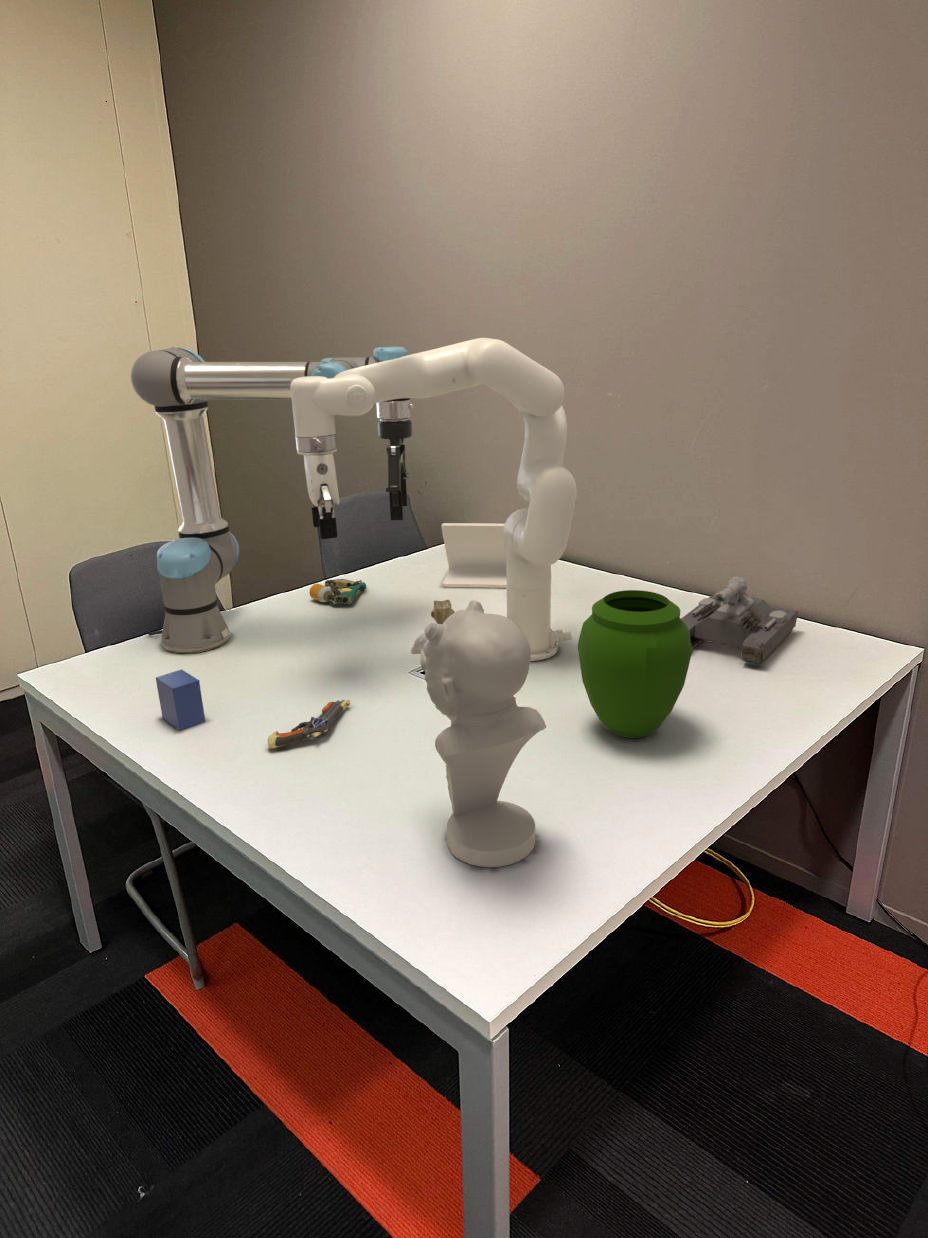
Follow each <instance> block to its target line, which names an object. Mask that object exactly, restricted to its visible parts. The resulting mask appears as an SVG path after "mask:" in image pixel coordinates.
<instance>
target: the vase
mask: <svg viewBox="0 0 928 1238" xmlns="http://www.w3.org/2000/svg"><path fill="white" fill-rule="evenodd" d="M681 618H682V617H681V609H680V607H679V606H678V605H677V604H676V603H674V602H673V601H672V600H670V599H669V598H667V596H664V595H663V594H660V593H657V592H653V591H648V590H642V589H641V590H638V589H628V590H619V591H613V592H611V593H609V594H606V595H605V596H603V597H602V598H600V599H599V600H597V601H595V602H594V603H593V604H592V607H591V614H590V615H589V616H588V617H587V619H586V620H584V621H583V623H582V626H581V628H580V632H579V637H578V640H577V645H576V646H577V653H578V660H579V668H580V675H581V680H582V684H583V686H584V689H585V692H586V696H587V697H588V700H589V704H590V706H591V707H592V710H593V711H594V712H595V714H596V716H597V718H598V719H599V721H600V722H601V723H602V725H603V726H604V727H605V728H606V729H607V730H608V731H609V732H610V733H612V734H614V735H616V736H618V737H619V736H620V737H623V738H628V739H636V738H637V739H638V738H643V737H648V736H649V735H651V734H653V733H654V732H655V731H657V729H659V728H660V727H661V726H662V725H663V723H664V722H665V721H666V719H668V717H669V716H670V714H671V713H672V711H673V709H674V708H675V705H676V703H677V701H678V699H679V697H680V695H681V693H682V691H683V688H684V686H685V684H686V679H687V676H688V670H689V666H690V663H691V659H692V655H693V648H692V647H691V640H690V634H689V629H688V627H687V626H686V624H685V623H684V622H683V621H682V620H681Z"/></svg>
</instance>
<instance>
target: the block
mask: <svg viewBox="0 0 928 1238" xmlns="http://www.w3.org/2000/svg"><path fill="white" fill-rule="evenodd" d="M155 683H156V689H157V695H158V701H159V706H160V711H161V718H162V719H163V720H164V721H166V722H167V723H168V724H170V725H171V726H172V727H174V728H175V729H176V730H178V731H179V732H180V731H184V730H185V729H189V728H192V727H194V726H196V725H199V724H202V723H205V722H206V716H205V710H204V703H203V696H202V690H201V689H202V688H201V683H200V680H199V679H198V678H196V677H195V676H193V675H191V674H190V673H188V672H187V671H185V670H184V669H182V668H181V669H178V670H175V671H172V672H169V673H165V674H162V675H160V676H156V677H155Z"/></svg>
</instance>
